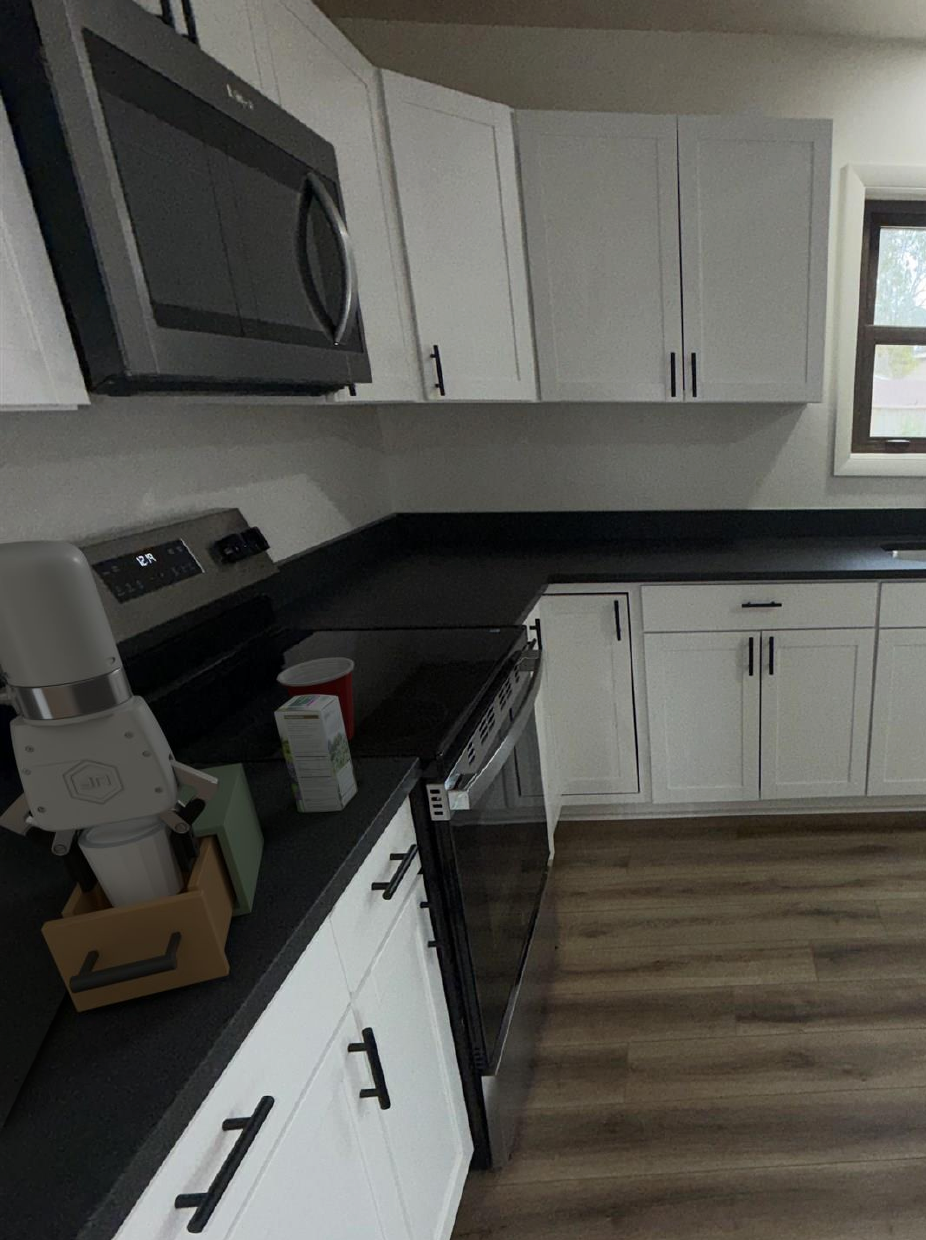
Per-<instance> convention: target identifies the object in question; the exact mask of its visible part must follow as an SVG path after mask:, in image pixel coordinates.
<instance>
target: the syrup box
mask: <svg viewBox="0 0 926 1240" xmlns="http://www.w3.org/2000/svg"><path fill="white" fill-rule="evenodd" d="M273 714H274V718H275V719H274V720H275V722H276V727H277V730H278V736H279V738H280V743H281V747H282V750H283V755H284V759H285V763H286V767H287V772H288V775H289V780H290V784H291V787H292V791H293V797H294V800H295V804H296V808H297V811H298V812H299V813H301V814H303V813H326V812H342V811H343V810H344V809H345V808H346V807H347V806H348V804H349V803H350V802H351V801H352V800H353V798H354V797H355V796H356V795H357V794H358V791H359V789H358V784H357V780H356V776H355V770H354V766H353V761H352V756H351V751H350V747H349V742H348V741H349V740H348V741H347V737H346V732H345V727H344V723H343V718H342V713H341V709H340V704H339V699H338V697H337V696H332V695H301V696H294V697H293V698H292V697H291V698H290V699H289V700H288V701H286V702H285V703H284V704H282V705H281V706H280V707H278V708H277V709H276V710H274V712H273Z"/></svg>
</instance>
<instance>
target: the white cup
mask: <svg viewBox="0 0 926 1240" xmlns="http://www.w3.org/2000/svg"><path fill="white" fill-rule="evenodd" d="M83 831H84V830H83ZM83 831H82V832H83ZM82 832H81V834H80V835H78V836H79V837H78V844H79V846H80V848H81V850H82V852H83V853H84V855H85V857H86V859H87V861H88V863H89V864H90V866H91V868H92V870H93V872H94V873H95V875H96V877H97V879H98V881H99V883H100V884H101V886H102V888H103V890H104V892H105V893H106V895H107V897H108V899H109V901H110V903H111V904H112V906H113V907H115V908H116V907H120V906H125V905H130V904H135V903H140V902H144V901H149V900H154V899H159V898H164V897H168V896H173V895H176V894H177V893H179V892H180V890H181V889H182V888H183V886H184V883H183V878H182V874H181V870H180V867H179V865H178V862H177V859H176V856H175V853H174V850H173V847H172V844H171V841H170V834H171V832H172V829H171V827H170V826H168V825H167V824H166V823H165V822H164V821H163V820H161V819H160V818H159V817H158V816H152V817H147V818H142V819H136V820H131V821H125V822H119V823H114V824H108V825H102V826H96V827H91V828H89V829H87V830H85V831H84V832H83V833H82Z"/></svg>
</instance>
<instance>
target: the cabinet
mask: <svg viewBox="0 0 926 1240" xmlns="http://www.w3.org/2000/svg"><path fill="white" fill-rule="evenodd" d="M197 770H198V771H201V772H203V773H206V774H208V775H210V776H213V777H215V778H217V779H218V780H219V782H220V783H219V786H218V789H217V791H216V792H215V794H214V795H213V797H212V798H211V800H210V801H209V802H208V804H207V805H206V807H205V808H204V810H203V811H202V813H201V814H200V815H199V816H198V818H197V819H196V820H195V821H194V823H193V824H192V827H193V830H194V833H195V836H196V837H202V836H207V835H213V834H217V836H218V839H219V842H220V846H221V849H222V852H223V855H224V858H225V861H226V864H227V868H228V871H229V874H230V877H231V880H232V883H233V886H234V890H235V893H236V898H235V903H234V907H233V912H232V916H231V918H235V917H238V916H243V915H248V914H251V913H252V909H253V904H254V898H255V893H256V889H257V882H258V876H259V872H260V871H259V870H260V865H261V860H262V855H263V850H264V845H265V839H264V836H263V831H262V828H261V824H260V821H259V817H258V814H257V810H256V807H255V804H254V800H253V798H252V793H251V791H250V787H249V783H248V780H247V777H246V774H245V770H244V766H243V764H242V762H239V763H233V764H232V763H231V764H227V765H219V766H214V767H208V768H201V769H197ZM196 792H197V791H196V789H194V788H192V787H190V786H188V785H185V784H183V787H182V789H181V790H180V791H179V792H178V799H179V800H180V801H181V802H182V803H184V804H185V805H186V804H187V803H188V802H189V801H190V800H191V798H192V797H193V796H194V795H195V793H196ZM90 828H91V827H90ZM87 829H89V828H85V829H83V831H82V832H81V834H82V833H83V832H84V831H85V830H87Z"/></svg>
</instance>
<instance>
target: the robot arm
mask: <svg viewBox="0 0 926 1240" xmlns="http://www.w3.org/2000/svg"><path fill="white" fill-rule="evenodd" d="M108 620H109V619H108V617H107V615H106V611H105V608H104V605H103V602H102V599H101V597H100V593H99V591H98V588H97V585H96V582H95V579H94V575H93V573H92V570H91V567H90V564H89V562H88V559H87V558H86V556H85V555H84V552H82V551H81V549H80V548H79V547H77V546H76V545H74V544H72V543H70V542H67V541H61V540H51V539H50V540H48V539H47V540H45V539H44V540H42V539H41V540H40V539H39V540H22V541H21V540H19V541H12V542H10V541H9V542H4V543H0V667H1V669H2V672H3V675H4V677H5V680H6V682H7V683H5V685H4V686H1V687H0V706H5V705H6V706H7V707H11V706H12V708H13V709H14V710H15V713H16V715H17V716H16V717H15V718H13V719H11V721H10V722H9V726H10V727H9V728H10V729H9V730H10V736H11V743H12V749H13V753H14V758H15V762H16V766H17V771H18V774H19V778H20V781H21V785H22V788H23V792H22V793H21V795H20V796H19V797H18V798H17V799H15V801H13V803H12V804H11V805H10V806H9V807H7V809H6V810H5V811H4V812H3V813H2V815H0V826H1V827H3V828H5V829H6V830H7V829H8V830H9V831H11V832H14V833H16V834H18V835H22V836H24V837H25V838H26V839H27V841H30V842H32V843H34V844H37V845H39V846H42V847H45V848H48V849H50V850H51V852H52V853H53V854H54V855H56V856H61V858H62V861H63V863H64V865H65V868H66V871H67V873H68V876H69V879H70V880H71V881H72V882H74V883H75V882H77V884H78V883H79V885H80V887H81V890H82V892H83V893H84V892H89V891H91V890H92V889H94V887H95V885H96V883H97V881H98V879H97V877H96V875H95V873H94V872H93V870H92V868H91V866H90V864H89V863H88V861H87V859H86V857H85V855H84V853H83V852H82V850H81V848H80V846H79V844H78V837H79V836H80V835H79V833H80V830H84V829H85V828H90V827H96V826H102V825H108V824H114V823H119V822H125V821H131V820H136V819H142V818H147V817H152V816H158V817H159V818H160V819H161V820H163V821H164V822H165V823H166V824H167V825H168V826H170V827H171V829H172V832H171V834H170V841H171V844H172V847H173V850H174V853H175V856H176V859H177V862H178V865H179V867H180V870H181V872H182V871H183V872H189V871H191V869H192V866H193V863H194V860H195V858H197V857H199V855H200V849H199V845H198V842H197V839H196V836H195V833H194V830H193V827H192V824H193V823H194V821H195V820H196V819H197V818H198V816H199V815H200V814H201V813H202V811H203V810H204V808H205V807H206V805H207V804H208V802H209V801H210V800H211V798H212V797H213V795H214V794H215V792H216V791H217V789H218V786H219V783H220V782H219V780H218V779H217V778H215V777H213V776H210V775H208V774H206V773H203V772H201V771H198V770H199V769H196V768H193V767H192V766H189V765H186V764H184V763H182V762H180V761H177V760H176V759H175V755H174V753H173V751H172V749H171V747H170V745H169V741H168V740H167V738H166V735H165V733H164V732H163V730H162V727H161V726H160V724H159V722H158V720H157V719H156V717H155V715H154V713H153V712H152V710H151V708H150V707H149V705H148V704H147V702H146V701H145V699H144V697H142V696H141V695H134V693H133V690H132V687H131V684H130V681H129V679H128V677H127V673H126V670H125V667H124V664H123V662H122V659H121V656H120V653H119V650H118V647H117V644H116V641H115V638H114V635H113V633H112V628H111V626H110V623H109V621H108ZM183 784H185V785H188V786H190V787H192V788H194V789H196V791H197V792H196V793H195V795H194V796H193V797H192V798H191V800H190V801H189V802H188V803H187V804H186V805H185V804H184V803H182V802H181V801H180V800H179V799H178V792H179V791H180V790H181V789H182V787H183ZM29 812H30V813H31V815H32V816H31V815H30V813H29Z"/></svg>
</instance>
